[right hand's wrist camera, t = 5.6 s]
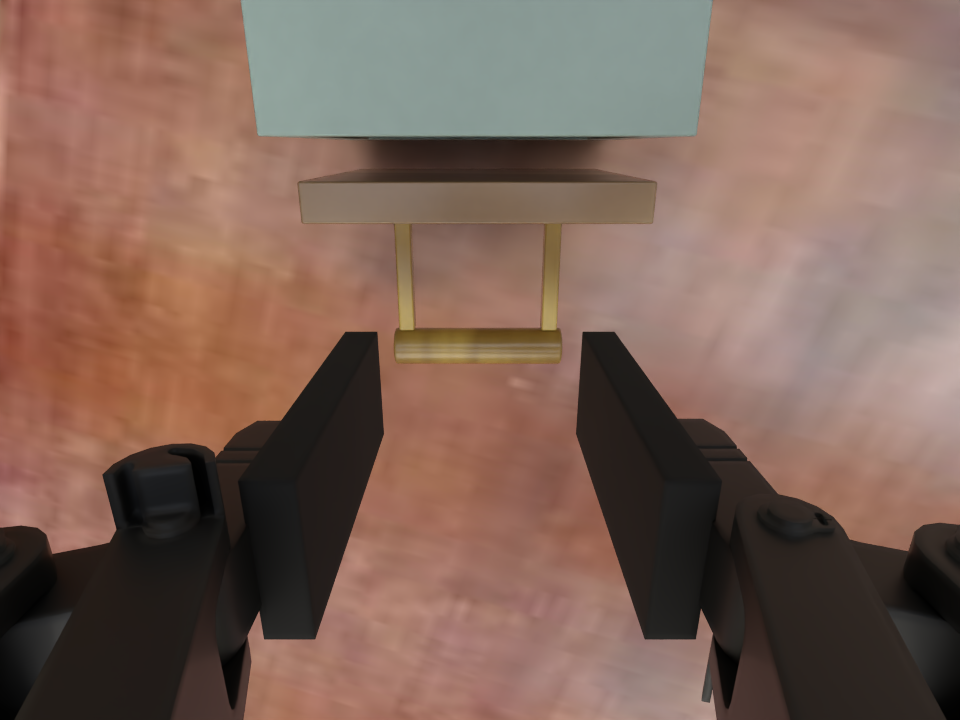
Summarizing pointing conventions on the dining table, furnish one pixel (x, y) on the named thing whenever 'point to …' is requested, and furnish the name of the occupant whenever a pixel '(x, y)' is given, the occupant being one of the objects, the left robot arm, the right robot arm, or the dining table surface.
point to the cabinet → (476, 68)
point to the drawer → (477, 202)
